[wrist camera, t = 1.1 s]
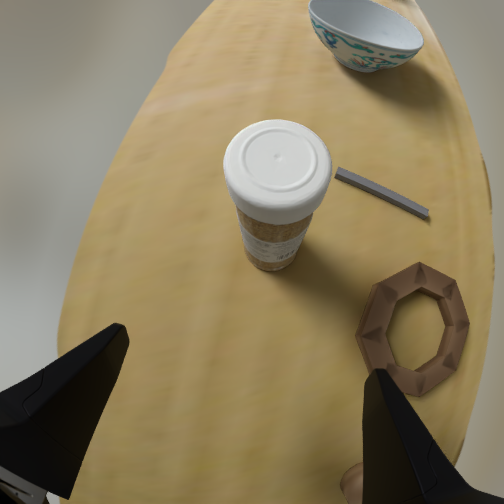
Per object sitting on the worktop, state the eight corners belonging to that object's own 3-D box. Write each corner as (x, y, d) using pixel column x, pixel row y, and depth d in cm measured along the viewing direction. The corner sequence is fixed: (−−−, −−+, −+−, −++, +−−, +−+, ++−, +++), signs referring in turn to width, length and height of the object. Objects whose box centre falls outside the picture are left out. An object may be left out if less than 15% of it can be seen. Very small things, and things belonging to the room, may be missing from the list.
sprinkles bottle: (284, 213, 25) (303, 105, 12) (306, 260, 23) (354, 185, 10) (235, 232, 24) (207, 134, 11) (255, 281, 23) (246, 225, 10)
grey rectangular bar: (424, 212, 24) (428, 209, 23) (423, 219, 24) (427, 216, 23) (336, 170, 25) (338, 166, 25) (334, 177, 25) (336, 173, 25)
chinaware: (289, 67, 30) (292, 19, 22) (318, 23, 33) (323, -14, 25) (402, 110, 28) (425, 67, 20) (407, 56, 31) (421, 21, 23)
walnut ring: (435, 400, 20) (443, 403, 18) (339, 371, 21) (344, 374, 20) (468, 293, 22) (476, 291, 20) (382, 251, 23) (389, 247, 22)
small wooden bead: (378, 491, 17) (388, 504, 15) (336, 497, 18) (343, 513, 15) (387, 457, 19) (400, 469, 16) (344, 463, 19) (353, 478, 16)
